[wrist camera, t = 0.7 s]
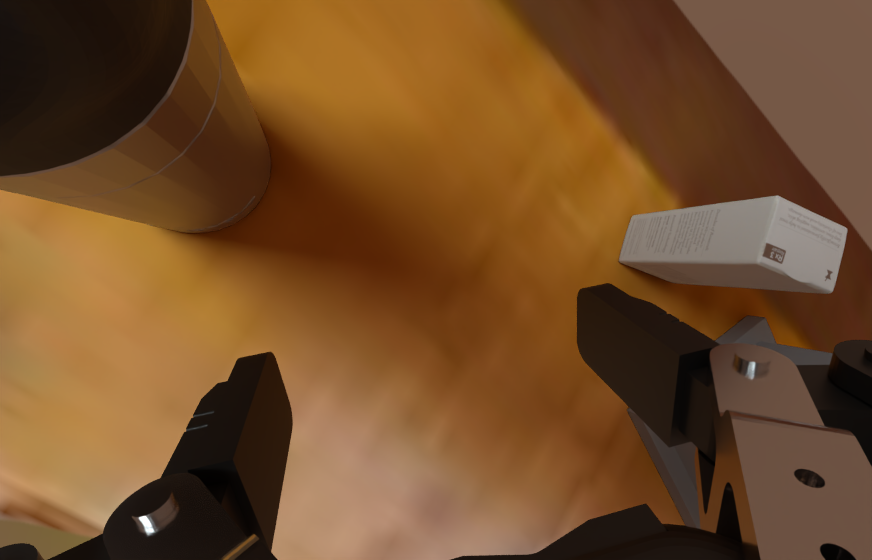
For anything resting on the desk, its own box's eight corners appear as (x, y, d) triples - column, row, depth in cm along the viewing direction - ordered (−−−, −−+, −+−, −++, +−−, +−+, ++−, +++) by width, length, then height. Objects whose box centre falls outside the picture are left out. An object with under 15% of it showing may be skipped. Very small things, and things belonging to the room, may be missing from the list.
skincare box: (684, 237, 36) (856, 223, 25) (670, 286, 36) (837, 296, 24) (627, 213, 35) (782, 187, 23) (612, 265, 35) (761, 264, 23)
